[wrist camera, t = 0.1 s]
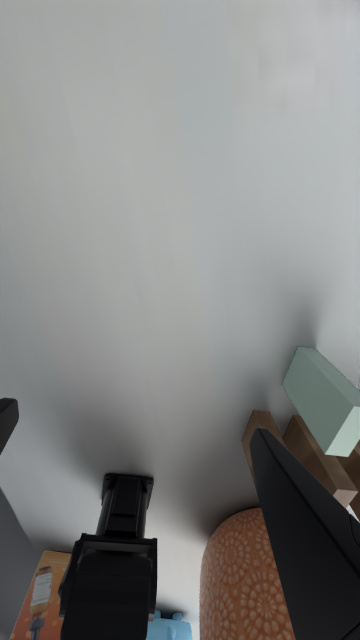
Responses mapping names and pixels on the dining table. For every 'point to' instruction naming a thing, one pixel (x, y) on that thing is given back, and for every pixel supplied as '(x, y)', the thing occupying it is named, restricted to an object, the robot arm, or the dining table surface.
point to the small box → (43, 600)
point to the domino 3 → (318, 461)
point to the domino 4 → (353, 475)
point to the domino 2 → (324, 401)
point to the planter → (242, 583)
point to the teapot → (168, 628)
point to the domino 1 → (255, 421)
